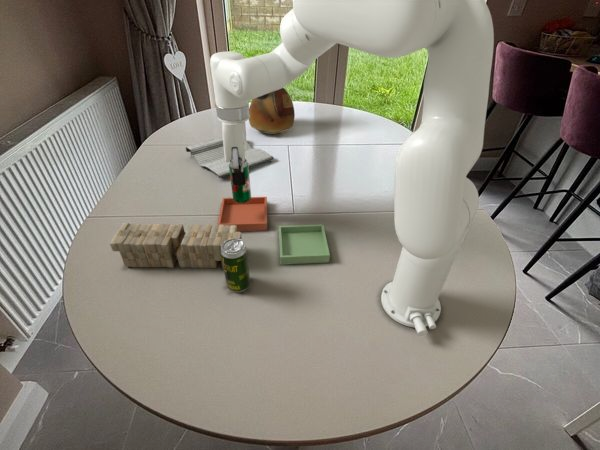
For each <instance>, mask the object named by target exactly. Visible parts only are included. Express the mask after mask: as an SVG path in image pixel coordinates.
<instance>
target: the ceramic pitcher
mask: <svg viewBox="0 0 600 450" xmlns="http://www.w3.org/2000/svg"><path fill="white" fill-rule="evenodd" d="M249 114H250V118H249V119H248V123H249V126H250V127H251V128H253V129H254V130H257V131H259V132H260V133H264V134H270V135H274V134H275V135H276V134H280V133H282V132H285V131H287V130H290V129H291V128H292V127H293V125H294V123H295V117H296V115H295V114H296V113H295V106H294V103H293V100H292V98H291V95H290V94H289V92H288V91H287V90H286V88H285V87H283V88H281V89H279V90H276V91H273V92H270V93H268V94H265V95H263V96H260V97H257V98H254V99H251V102H250V104H249Z"/></svg>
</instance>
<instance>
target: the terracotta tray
mask: <svg viewBox="0 0 600 450" xmlns="http://www.w3.org/2000/svg"><path fill="white" fill-rule="evenodd" d="M219 211H220V212H219V216H218V222H217V225H229V226H231V225H236V226H237V232H256V231H257V232H258V231H259V232H260V231H261V232H262V231H263V232H264V231H268V198H267V196H251V199H250V200H249V201H248V202H246V203H237V202H235V201H234V200H233V197H222V200H221V205H220V210H219Z"/></svg>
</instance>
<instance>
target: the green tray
mask: <svg viewBox="0 0 600 450" xmlns="http://www.w3.org/2000/svg"><path fill="white" fill-rule="evenodd" d="M278 241H279V243H278V244H279V257H280V258H279V260H280V261H279V262H280V263H279V264H280V265H298V264H299V265H300V264H302V265H303V264H321V263H323V264H325V263H330V259H331V254H330V249H329V245H328V240H327V234H326V230H325V226H324V224H298V225H279V226H278Z"/></svg>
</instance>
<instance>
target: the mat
mask: <svg viewBox="0 0 600 450" xmlns="http://www.w3.org/2000/svg"><path fill="white" fill-rule="evenodd" d="M185 152H186V153H190V157H191V158H192V157H193V158H194V160H195V161H196V163H197V164H198V165H199V166H200V167H201V168H207V169H208V170H209V171H211V172H212V173H213V174H215V175H217V176H218V178H219V179H220V178H221V180H223V177H227V176H230V171H229V163H230V162H226V161H225V155H224V145H223V136H221V137H217V138H213V139H211V140H207V141H204V142H203V141H202V142H200V143H196V144H193V145H189V146H186V147H185ZM245 159H246V160H247V162H248V166H249V169H250V168H253V167H256V166H258V165H261V164H264V163H268V162H271V161H272V160H274V159H275V158H274V156H273V155H271V154H270V153H268V152H267V151H264V150H262V149H261V148H253V147H252V146H251V144H250V143H249V142H248V141H247V140H246V155H245ZM230 160H231V159H230Z"/></svg>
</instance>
